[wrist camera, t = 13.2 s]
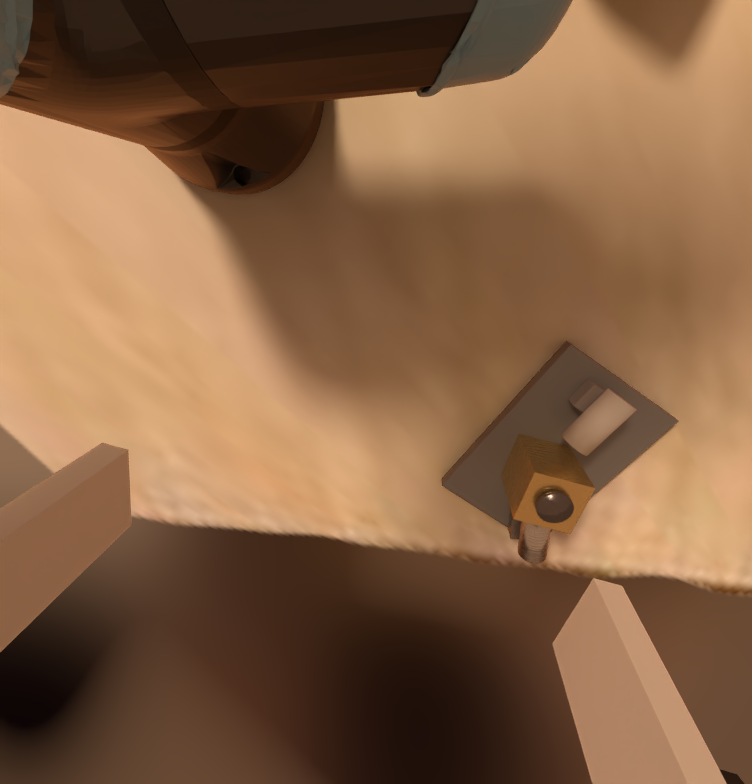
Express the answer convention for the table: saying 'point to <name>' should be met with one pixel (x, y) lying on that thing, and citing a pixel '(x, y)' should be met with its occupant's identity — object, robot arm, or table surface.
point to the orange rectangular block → (545, 484)
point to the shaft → (529, 539)
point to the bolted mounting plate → (562, 428)
